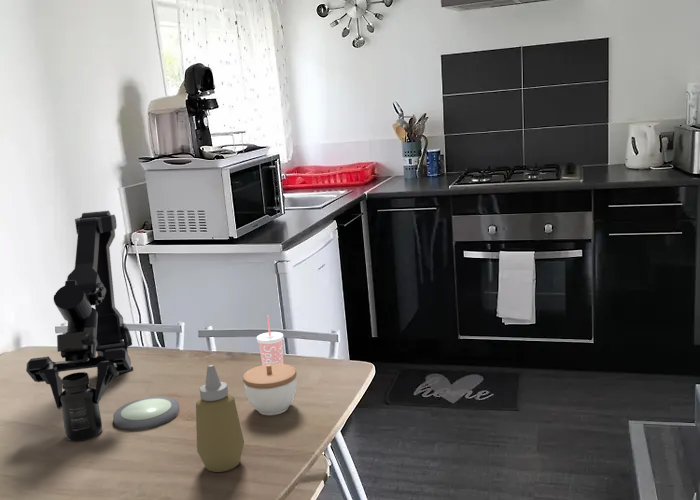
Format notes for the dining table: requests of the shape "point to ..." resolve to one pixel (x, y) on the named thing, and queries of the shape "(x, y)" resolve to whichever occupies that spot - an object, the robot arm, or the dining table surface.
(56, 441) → the dining table surface
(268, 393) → the lidded jar
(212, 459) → the squeeze bottle
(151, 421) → the plate
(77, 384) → the supplement bottle
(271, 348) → the beverage cup
